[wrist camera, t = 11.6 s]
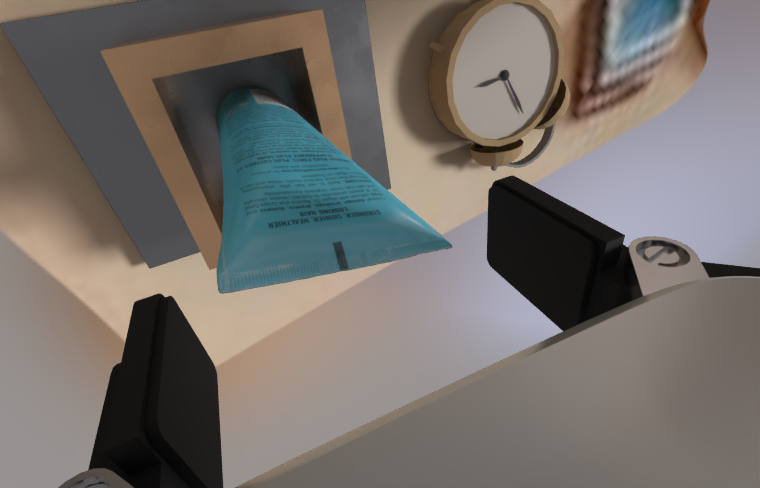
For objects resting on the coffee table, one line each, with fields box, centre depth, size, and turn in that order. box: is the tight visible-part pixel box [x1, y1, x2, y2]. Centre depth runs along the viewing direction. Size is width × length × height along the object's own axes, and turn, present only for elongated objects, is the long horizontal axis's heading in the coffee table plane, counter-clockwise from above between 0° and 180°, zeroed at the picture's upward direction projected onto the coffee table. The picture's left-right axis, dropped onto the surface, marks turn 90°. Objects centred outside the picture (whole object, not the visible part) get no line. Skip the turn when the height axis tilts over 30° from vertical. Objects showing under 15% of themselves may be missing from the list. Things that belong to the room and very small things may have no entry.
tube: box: [217, 86, 452, 293], centre depth 19 cm, size 7×5×19 cm, turn 93°
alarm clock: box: [428, 0, 570, 171], centre depth 33 cm, size 11×5×15 cm
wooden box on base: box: [0, 0, 391, 270], centre depth 25 cm, size 20×16×7 cm
